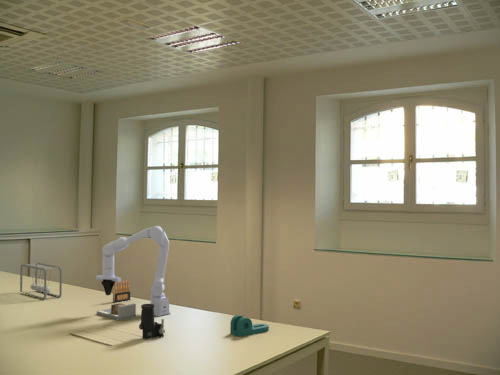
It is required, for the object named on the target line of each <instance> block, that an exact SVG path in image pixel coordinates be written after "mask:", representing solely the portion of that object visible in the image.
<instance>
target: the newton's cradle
mask: <svg viewBox="0 0 500 375" xmlns="http://www.w3.org/2000/svg"><path fill="white" fill-rule="evenodd" d="M23 267H26V268H30V269H33V271H34V276H35V279H34V278H33V276H31V278H32V280H34V282H32V283H31V285H30V290H31V291H36V292H37V291H39V292H38V293H40V292H43V293H44V294H43V293H42V294H43V295H44V296H43V297H42V296H38V295H36V294H35V295H34V294H32V293H25V294H28V295H31V296H34V297H33V298H35V297H37V298H36V299H38V298H40V299H39V300H42V299H45V300H48V298H49V297H47V294H49V295H48V296H51V295H53V296H51V297H50V299H54V298H55V299H56V298H58V297H60V298H62V291H63V290H62V285H63V284H62V283H63V279H62V278H63V269H62V267H61V266H57V265H52V264H46V263H41V262H36V263H35V265H33V263H27V264H24V263H22V264H21V265H20V270H19V272H20V278H19V279H20V280H19V287H20V288H19V292H20V293H21V292H23V293H24V292H25V291H23V270H24V269H23ZM54 269H58V270H59V295H58V294H55V293H54V294H53V293H51V287H49V286H48V285H47V275H48V270H50V272H49V274H51V273H52V272H51V271H52V270H54ZM38 270H40V272H39V271H38ZM42 271H43V272H42ZM30 272H31V273H33V272H32V270H30ZM38 273H42V274H40V275H38ZM48 276H49V278H48V279H51V278H50V277H51V275H48ZM40 277H41V283H40V280H38V278H40ZM43 278H44V280H43ZM48 284H50V283H49V281H48ZM28 295H27V296H28ZM31 296H30V297H31ZM55 296H56V297H55Z"/></svg>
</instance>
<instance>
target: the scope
mask: <svg viewBox="0 0 500 375" xmlns="http://www.w3.org/2000/svg"><path fill="white" fill-rule="evenodd" d="M140 308H141V312H140V314H141V315H140V324H139V325H138V329H139V330H141V331H142V337H141V338H142V340H151V338H152V339H154V337H155V338H164V336H165V335H164V334H165V332H166V331H165V330H166V329H164V327H165V324H164V323H165V319H164V318H161V323H158V322H157V321H155V315H154V309H153V308H154V304H150V303H144V304H141V305H140ZM161 336H162V337H161Z"/></svg>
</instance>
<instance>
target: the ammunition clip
mask: <svg viewBox="0 0 500 375" xmlns="http://www.w3.org/2000/svg"><path fill="white" fill-rule="evenodd" d="M130 288H131V286H130V279H129V278H127V279H125V280H124V279H123V280H121V281H120V282H117V281H115V284H114V286H113V293H112V303H113V304H118V303H122V301H123V302H127V301H128V300H129V301H131V291H130V290H131V289H130ZM117 302H118V303H117Z"/></svg>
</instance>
